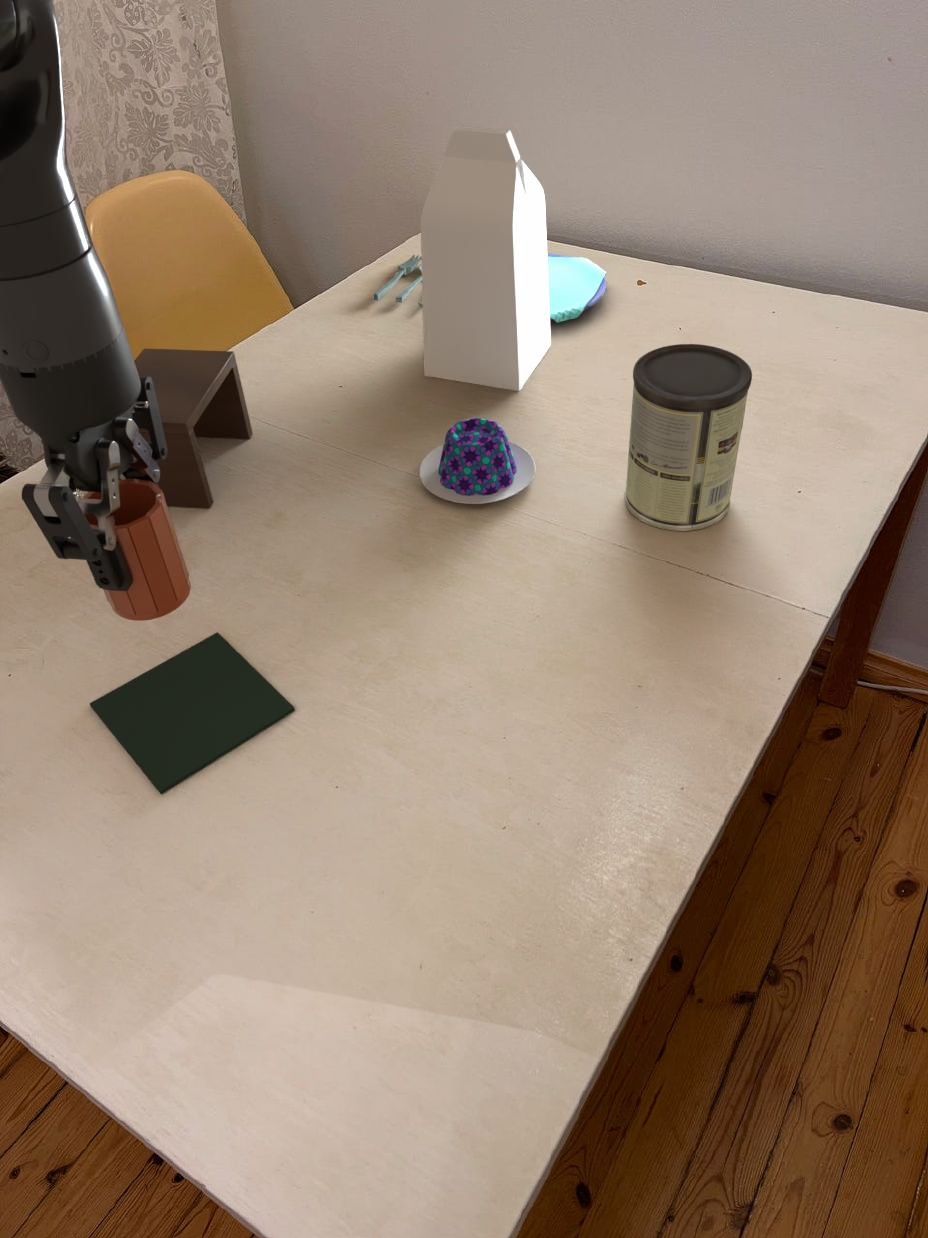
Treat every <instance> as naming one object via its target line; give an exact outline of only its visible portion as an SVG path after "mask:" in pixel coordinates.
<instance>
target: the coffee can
mask: <svg viewBox="0 0 928 1238" xmlns="http://www.w3.org/2000/svg"><path fill="white" fill-rule="evenodd" d="M632 380H633V385H632V386H633V388H632V403H631V415H630V429H629V441H628V456H627V469H626V472H627V473H626V484H625V491H624V503H625V506H626V507H627V509H628V511H629V512H630V514H632V515H633V516H634V517H636V518H637V519H638V520H639V521H641V523H644V524H647V525H649V526H651V527H655V528H658V529H662V530H665V531H674V532H675V531H676V532H689V531H699V530H701V529H706V528H708V527H710V526H713V525H715V524H716V523H718V522H719V521H721V520H722V519H724V517H725V516H726V514H727V513H728V512H729V510H730V506H731V495H732V490H733V482H734V477H735V472H736V471H735V470H736V466H737V460H738V459H737V458H738V453H739V447H740V443H741V442H740V441H741V436H742V435H741V434H742V431H743V426H744V419H745V413H746V412H745V411H746V405H747V400H748V393H749V389H750V387H751V384H752V381H753V371H752V369H751V367H750V365H749V364H748V363H747V362H746V360H745V359H743V358H741V356H738V355H737V354H735V353H733V352H731V351H729V350H726V349H723V348H721V347H717V346H712V345H706V344H698V343H680V344H679V343H678V344H677V343H676V344H671V345H666V346H665V345H664V346H661V347H658V348H655V349H651V350H650V351H648V352H646V353H645V354H643V355H642V356H640V357H639V358H638V359H637V360H636V362H635V363H634V366H633V369H632Z"/></svg>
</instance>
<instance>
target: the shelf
mask: <svg viewBox="0 0 928 1238" xmlns="http://www.w3.org/2000/svg"><path fill="white" fill-rule="evenodd" d="M134 362H135V365H136V368H137V372H138V375H139V376H146V377H151V379H152V381H153V385H154V390H155V394H156V399H157V403H158V408H159V413H160V417H161V422H162V426H163V431H164V436H165V440H166V445H167V457H166V459H165V460H159V461H158V464H157V465H158V466H159V469H160V479H159V481H158V482H157V483H158V486H159V488H160V489H161V490H162V492H163V495H164V498H165V501H166V504H167V507H168V508H169V507H172V508H186V509H187V508H188V509H202V510H203V509H206V510H210V509H211V508H212V506H213V504H214V499H213V495H212V491H211V487H210V484H209V480H208V477H207V473H206V468H205V466H204V462H203V459H202V455H201V451H200V447H199V444H198V441H197V438H213V439H235V440H236V439H237V440H250V439H251V437H252V436H253V434H254V433H253V429H252V424H251V420H250V415H249V411H248V407H247V402H246V397H245V393H244V390H243V385H242V381H241V375H240V372H239V366H238V363H237V359H236V355H235V351H229V350H203V349H201V350H199V349H176V348H175V349H172V348H171V349H170V348H167V349H166V348H146V347H145V348H143V349H142V351H141V352H140V353H139V354H138V355H137V356H136V358H135V359H134ZM138 432H139V433H140V435H141V436H142V437H143V439H144V440H145V441H146V442H151V440H150V435H149V432H148V431H147V430H146V429H139V430H138ZM119 480H121V479H120V478H119Z"/></svg>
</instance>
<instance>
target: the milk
mask: <svg viewBox="0 0 928 1238" xmlns="http://www.w3.org/2000/svg"><path fill="white" fill-rule="evenodd" d="M545 196H546V195H545V192H544V188H543V186H542V184H541V183H540V181H539V180H538V178H537V177H536V176H535V174H534V173H533V172H532V171H531V169H530V168H529V167H528V166H527V164H526V163H525V162H524V161H523V159H522V158H521V154H520V151H519V149H518V147H517V144H516V141H515V138H514V136H513V133H512V130H511V129H506V128H505V129H504V128H503V129H502V128H490V127H479V126H464V125H457V126H455V128H453V129H452V131H451V134H450V137H449V140H448V142H447V145H446V148H445V151H444V157H443V158H442V159H441V161H440V165H439V167H438V169H437V172H436V174H435V177H434V179H433V182H432V184H431V187H430V189H429V191H428V195H427V198H426V199H425V202H424V204H423V208H422V212H421V216H420V257H421V261H420V262H421V263H422V273H421V276H422V280H421V288H422V289H421V293H422V297H421V298H422V300H423V308H422V330H423V333H422V334H423V367H424V369H423V370H424V372H423V373H424V376H425V377H431V378H437V379H444V380H449V381H456V382H461V383H468V384H473V385H480V386H486V387H491V388H497V389H498V388H499V389H504V390H510V391H516V392H520V391H521V390H522V389H523V387H524V386H525V384H526V382H527V381H528V380H529V378H530V377H531V375H532V374H533V373H534V371H535V370H536V368H537V366H538V365H539V364H540V362H541V360H542V359H543V358H544V356H545V355H546V354H547V352H548V351H549V349H550V347H551V346H552V337H551V336H552V335H551V319H550V307H549V283H548V259H547V253H548V240H547V239H548V237H547V235H548V234H547V215H546V214H547V213H546V198H545Z"/></svg>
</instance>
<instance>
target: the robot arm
mask: <svg viewBox="0 0 928 1238" xmlns="http://www.w3.org/2000/svg"><path fill="white" fill-rule="evenodd" d="M66 119H67V118H66V107H65V95H64V83H63V70H62V56H61V45H60V35H59V26H58V19H57V14H56V11H55V5H54V0H0V383H1V385H2V388H3V390H4V392H5V395H6V397H7V399H8V402H9V404H10V405H9V406H10V407H11V410H12V412H13V414H14V416H15V418H16V419H18V421H19V422H20V423H22V424H23V425H24V426H25V427H27V428H29V429H30V430H31V431H32V432H34V433H35V434H36V435H37V436H38V437H39V438H40V440H41V444H42V448H43V455H44V458H43V459H44V463H45V466H46V468H47V470H46V472H45V473H44V475H43V476H42V478H41V480H40V481H39V483H25V484H24V485H23V487H22V489H21V500H22V501H23V503H24V505H25V506H26V508H27V510H28V512H29V513H30V514H31V516H32V518H33V519H34V521H35V523H36V524H37V527H38V528H39V530H40V531H41V533H42V535H43V537H44V539H45V540H46V541H47V543H48V545H49V546H50V548H51V550H52V551H53V553H54V555H55V556H56V558H57V559H59V560H80V561H86V563H87V565H88V569H89V571H90V573H91V576H92V577H93V580H94V583H95V585H96V587H98V588H99V589H102V590H103V589H105V590H114V591H128V590H129V588H130V586H131V585H132V583H133V578H132V576H131V573H130V570H129V568H128V565H127V562H126V560H125V557H124V554H123V551H122V549H121V546H120V543H119V542H116V530H115V519H114V514H115V513H116V512H118V511H119V510H120V507H121V505H120V494H119V483H118V480H119V478H120V479H121V480H124V479H140V480H145V481H151V482H153V483H154V484H155V485H156V486H157V487H158V488H159V486H158V483H157V482H158V481H159V479H160V469H159V466H158V465H157V464H158V461H159V460H165V459H166V457H167V445H166V440H165V436H164V431H163V426H162V422H161V417H160V413H159V408H158V403H157V399H156V394H155V390H154V385H153V381H152V379H151V377H146V376H139V375H138V372H137V368H136V365H135V362H134V360H135V359H134V356H133V353H132V350H131V346H130V343H129V340H128V336H127V333H126V329H125V326H124V323H123V321H122V317H121V314H120V310H119V307H118V304H117V301H116V297H115V295H114V292H113V288H112V285H111V282H110V279H109V277H108V274H107V272H106V270H105V268H104V266H103V263H102V261H101V259H100V257H99V255H98V252H97V250H96V248H95V245H94V242H93V240H92V237H91V234H90V231H89V228H88V223H87V220H86V218H85V215H84V212H83V208H82V206H81V202H80V199H79V196H78V192H77V189H76V186H75V183H74V180H73V177H72V174H71V171H70V168H69V164H68V155H67V154H68V153H67V120H66ZM139 429H146V430H147V431H148V432H149V435H150V440H151V442H146V441H145V440H144V439H143V437H142V436H141V435H140V433H139V432H138V430H139ZM77 490H78V491H80V492H86V493H88V492H102V500H100V499H84V498H82V497H81V496H80V495H79V494H78V491H77ZM86 514H90V515H95V516H96V517H97V519H98V527H99V531H95V530H92V528H91V526H90V524H89V523H88V521H87V519H86Z"/></svg>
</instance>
